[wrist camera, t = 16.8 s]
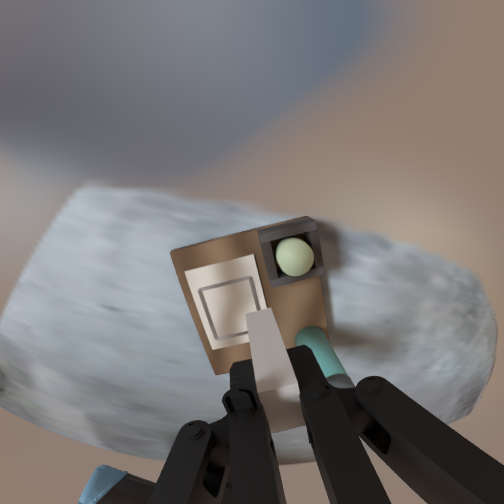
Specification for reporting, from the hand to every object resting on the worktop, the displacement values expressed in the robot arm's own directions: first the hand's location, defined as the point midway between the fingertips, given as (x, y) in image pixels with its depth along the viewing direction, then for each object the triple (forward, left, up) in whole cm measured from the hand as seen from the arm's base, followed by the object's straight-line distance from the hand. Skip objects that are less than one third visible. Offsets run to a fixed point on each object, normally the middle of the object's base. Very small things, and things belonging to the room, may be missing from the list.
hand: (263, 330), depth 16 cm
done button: (+5, -1, -15) cm, 16 cm away
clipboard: (0, -7, -17) cm, 18 cm away
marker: (+5, -13, -16) cm, 21 cm away
